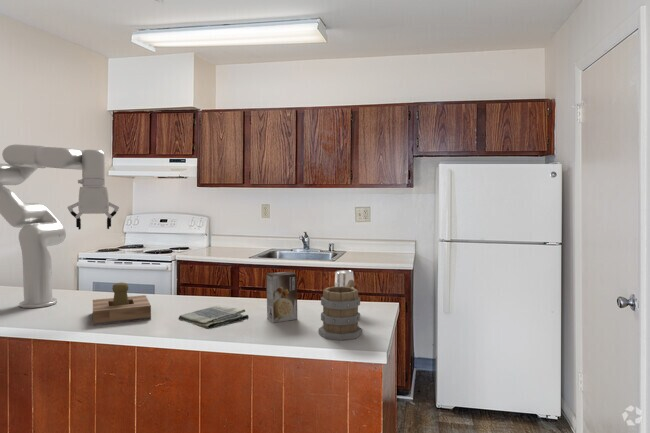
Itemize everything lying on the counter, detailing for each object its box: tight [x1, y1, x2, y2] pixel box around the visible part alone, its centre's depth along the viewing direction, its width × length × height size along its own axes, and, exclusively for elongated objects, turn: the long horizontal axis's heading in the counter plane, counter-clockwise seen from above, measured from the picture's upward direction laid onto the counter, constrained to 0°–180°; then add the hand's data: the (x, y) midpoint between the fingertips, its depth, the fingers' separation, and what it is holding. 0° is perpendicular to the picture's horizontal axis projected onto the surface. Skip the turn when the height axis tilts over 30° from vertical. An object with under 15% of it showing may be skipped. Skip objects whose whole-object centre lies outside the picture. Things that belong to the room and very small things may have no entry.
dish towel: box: [178, 305, 249, 329], centre depth 166 cm, size 19×18×3 cm
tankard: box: [318, 280, 363, 341], centre depth 152 cm, size 20×13×15 cm, turn 157°
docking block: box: [92, 294, 152, 326], centre depth 168 cm, size 18×18×5 cm
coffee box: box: [266, 271, 298, 323], centre depth 165 cm, size 9×6×16 cm
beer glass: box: [334, 269, 355, 288], centre depth 175 cm, size 7×7×15 cm
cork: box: [111, 282, 129, 306], centre depth 168 cm, size 6×6×11 cm
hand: (94, 228), depth 178 cm, fingers open, 9 cm apart
